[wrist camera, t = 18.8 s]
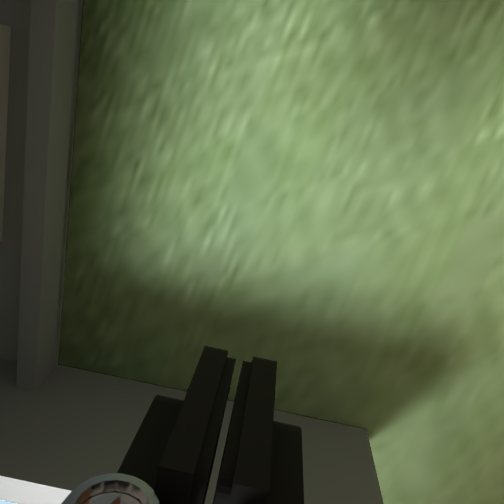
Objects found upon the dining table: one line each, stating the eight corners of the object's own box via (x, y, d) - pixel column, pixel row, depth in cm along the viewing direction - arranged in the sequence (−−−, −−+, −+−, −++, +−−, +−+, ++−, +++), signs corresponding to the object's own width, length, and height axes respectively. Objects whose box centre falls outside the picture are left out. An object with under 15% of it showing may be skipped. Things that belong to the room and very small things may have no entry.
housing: (536, -95, 15) (703, -227, 9) (360, 447, 21) (388, 582, 15) (-181, -235, 15) (-492, -456, 9) (-136, 342, 22) (-298, 435, 16)
